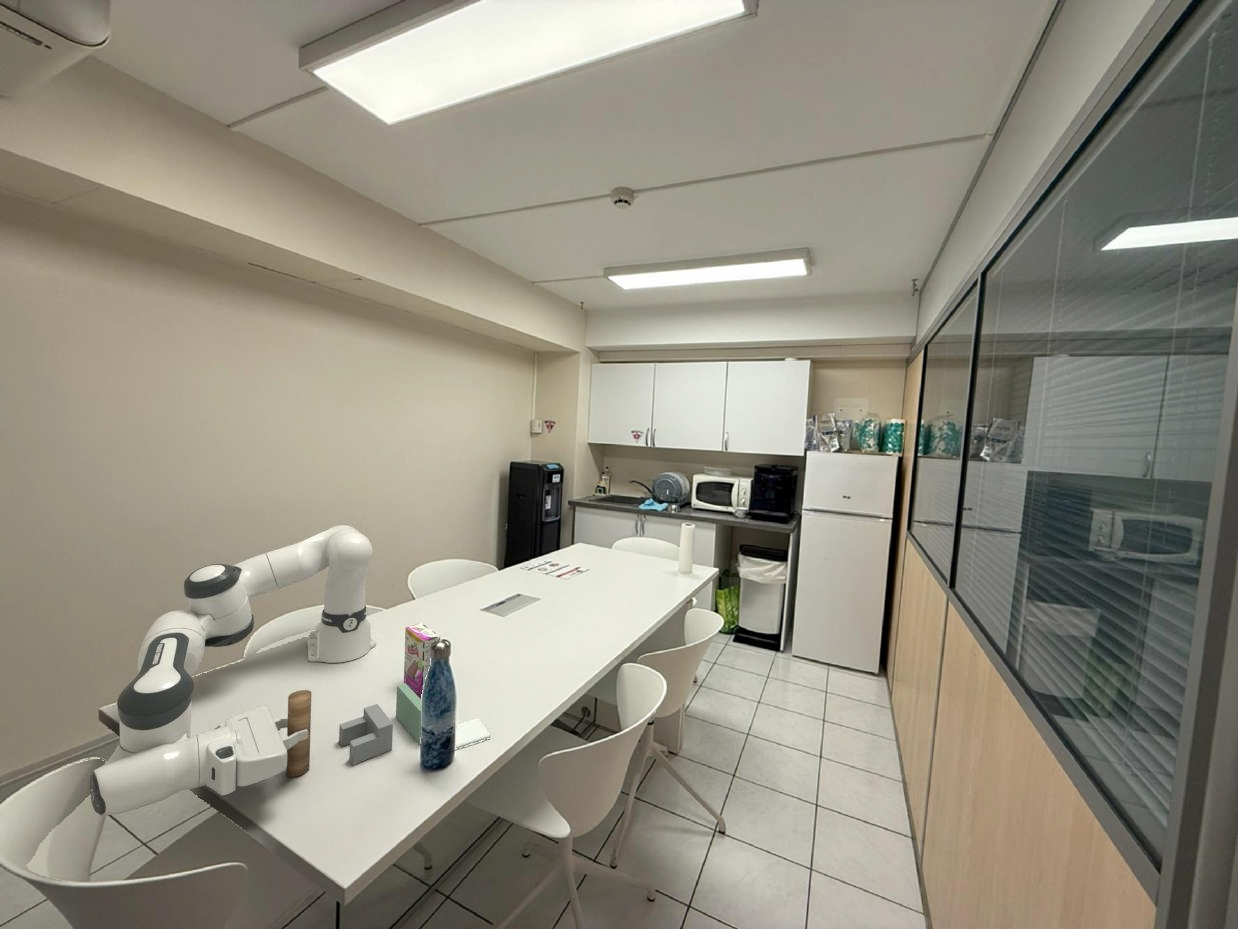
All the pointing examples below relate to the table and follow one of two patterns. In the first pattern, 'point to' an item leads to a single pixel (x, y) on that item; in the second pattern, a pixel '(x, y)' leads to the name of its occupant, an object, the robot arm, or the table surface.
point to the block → (367, 734)
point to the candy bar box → (417, 655)
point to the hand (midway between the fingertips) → (304, 726)
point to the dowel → (297, 720)
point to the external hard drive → (470, 733)
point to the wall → (409, 710)
